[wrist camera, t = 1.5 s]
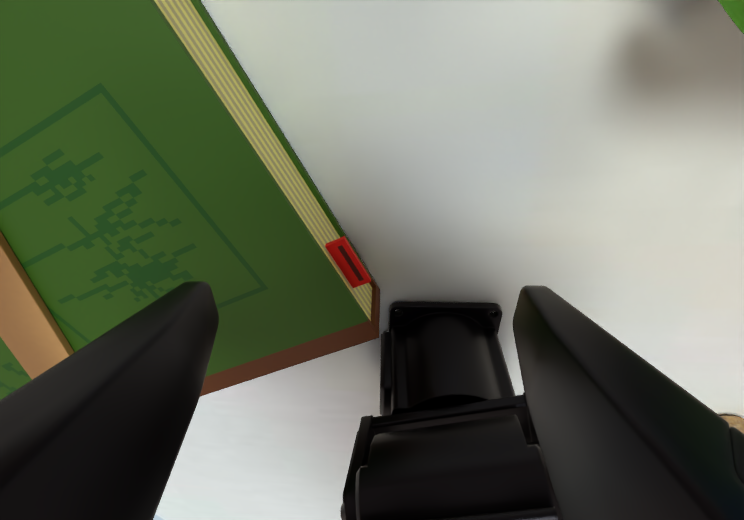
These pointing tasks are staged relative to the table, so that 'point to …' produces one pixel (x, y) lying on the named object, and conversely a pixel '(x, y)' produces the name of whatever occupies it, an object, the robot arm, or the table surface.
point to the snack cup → (735, 11)
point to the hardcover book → (164, 188)
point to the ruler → (27, 319)
